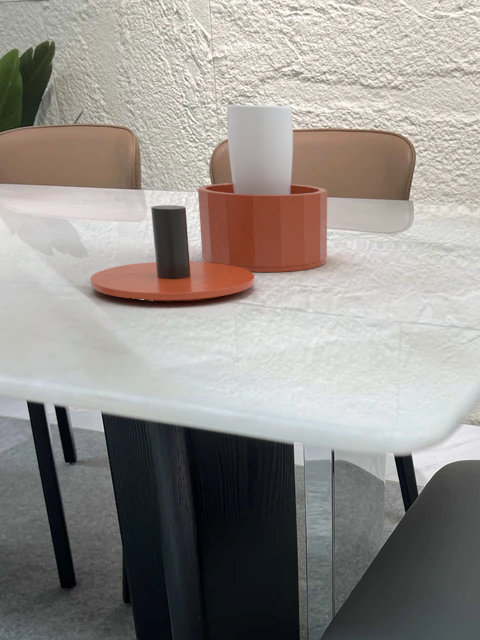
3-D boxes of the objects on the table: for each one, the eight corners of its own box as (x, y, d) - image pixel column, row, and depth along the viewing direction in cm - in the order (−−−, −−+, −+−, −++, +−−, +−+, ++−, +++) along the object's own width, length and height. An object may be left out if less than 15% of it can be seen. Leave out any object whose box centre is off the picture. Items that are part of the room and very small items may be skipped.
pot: (232, 276, 77) (228, 197, 74) (185, 254, 88) (180, 184, 84) (348, 266, 84) (349, 193, 81) (291, 247, 94) (290, 181, 91)
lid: (118, 314, 62) (107, 221, 59) (74, 280, 74) (63, 201, 70) (281, 297, 70) (279, 213, 66) (219, 269, 81) (215, 196, 77)
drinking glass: (269, 263, 81) (265, 105, 75) (220, 256, 85) (212, 104, 78) (306, 255, 87) (305, 106, 80) (259, 248, 90) (254, 105, 83)
